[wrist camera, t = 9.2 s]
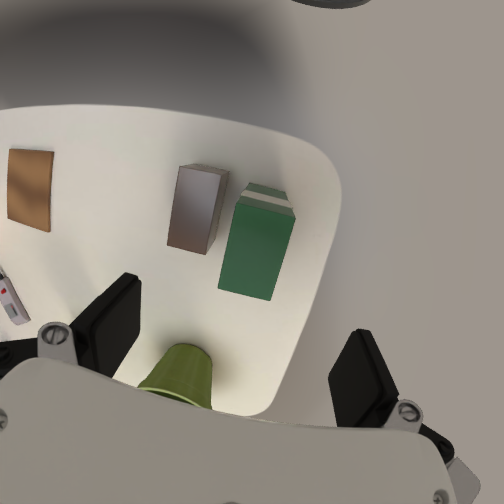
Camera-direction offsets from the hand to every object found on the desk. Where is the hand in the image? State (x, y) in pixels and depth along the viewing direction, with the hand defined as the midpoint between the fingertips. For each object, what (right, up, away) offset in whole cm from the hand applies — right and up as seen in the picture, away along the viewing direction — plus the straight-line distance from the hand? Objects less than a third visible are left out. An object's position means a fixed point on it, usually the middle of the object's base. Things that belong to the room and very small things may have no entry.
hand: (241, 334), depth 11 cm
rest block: (-5, +9, +19) cm, 21 cm away
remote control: (-50, -6, +28) cm, 57 cm away
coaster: (-34, +13, +19) cm, 41 cm away
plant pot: (-9, -13, +28) cm, 32 cm away
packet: (-1, +8, +19) cm, 21 cm away
